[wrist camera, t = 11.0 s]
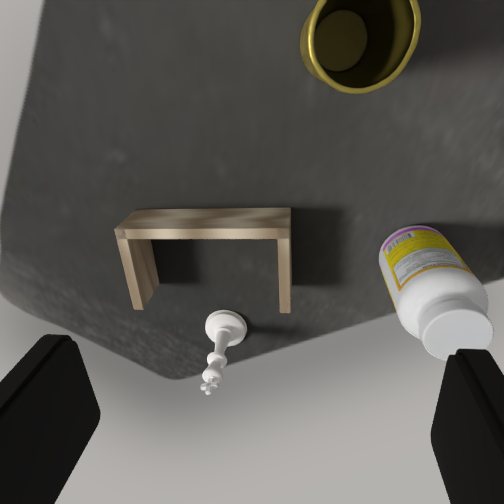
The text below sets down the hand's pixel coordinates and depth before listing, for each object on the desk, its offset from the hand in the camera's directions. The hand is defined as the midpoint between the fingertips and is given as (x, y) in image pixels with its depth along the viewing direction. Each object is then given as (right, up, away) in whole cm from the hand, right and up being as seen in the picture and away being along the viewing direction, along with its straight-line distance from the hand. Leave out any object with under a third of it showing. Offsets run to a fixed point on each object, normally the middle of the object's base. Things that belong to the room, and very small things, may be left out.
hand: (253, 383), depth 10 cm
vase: (+7, +20, +21) cm, 30 cm away
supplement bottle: (+16, +3, +29) cm, 33 cm away
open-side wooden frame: (-4, +3, +31) cm, 31 cm away
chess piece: (-3, -5, +36) cm, 36 cm away
